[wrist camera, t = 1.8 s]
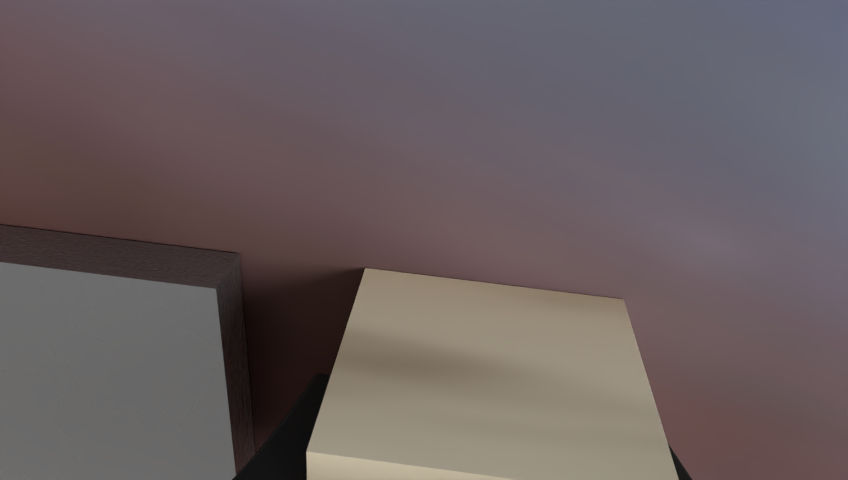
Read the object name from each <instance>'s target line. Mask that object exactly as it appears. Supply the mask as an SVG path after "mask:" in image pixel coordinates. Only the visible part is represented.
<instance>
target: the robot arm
mask: <svg viewBox="0 0 848 480" xmlns="http://www.w3.org/2000/svg"><path fill="white" fill-rule="evenodd" d="M330 376H331V375H328V374H320V373H318V374H317V375H315V376H314V377H313V378H312V379H311V381H310V382H309V384H308V385H307V387H306V388H305V390H304V391H303V393H302V394H301V396H300V397H299V399H298V400H297V401H296V403H295V404H294V406H293V407H292V408H291V410H290V411H289V412H288V414H287V415H286V416H285V418H284V419H283V420H282V421H281V423H280V424H279V425H278V427H277V428H276V429H275V430H274V432H273V433H272V434H271V435H270V436H269V438H268V439H267V440H266V441H265V442H264V444H263V445H262V446H261V447H260V449H259V450H258V451H257V452H256V453H255V455H254V456H253V457H252V458H251V459H250V460H249V462H248V463H247V464H246V465H245V466H244V467H243V468H242V469H241V470H240V471H239V472H238V474H237V475H236V476H235V477H234V478H233V479H232V480H307V458H306V451H307V448H308V445H309V442H310V439H311V435H312V432H313V429H314V426H315V423H316V420H317V417H318V414H319V411H320V407H321V404H322V401H323V398H324V395H325V392H326V389H327V386H328V383H329V379H330ZM667 443H668V442H667ZM668 446H669V444H668ZM669 450H670V453H671V456H672V459H673V463H674V466H675V469H676V472H677V476H678V479H679V480H692V478H691V477H690V476H689V474H688V473H687V471H686V470H685V468H684V467H683V465H682V464H681V462H680V461H679V459H678V458H677V456H676V455H675V453H674V452H673V450H672V449H671V447H670V446H669Z"/></svg>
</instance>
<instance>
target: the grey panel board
mask: <svg viewBox="0 0 848 480" xmlns="http://www.w3.org/2000/svg"><path fill="white" fill-rule="evenodd" d="M254 455H255V443H254V431H253V419H252V406H251V394H250V382H249V369H248V357H247V344H246V332H245V320H244V307H243V295H242V283H241V270H240V258H239V254H236V253H228V252H220V251H212V250H203V249H195V248H187V247H179V246H170V245H162V244H154V243H146V242H138V241H129V240H121V239H113V238H105V237H96V236H88V235H80V234H72V233H64V232H55V231H47V230H39V229H31V228H23V227H14V226H6V225H0V480H232V479H233V478H234V477H235V476H236V475H237V474H238V472H239V471H240V470H241V469H242V468H243V467H244V466H245V465H246V464H247V463H248V462H249V460H250V459H251V458H252V457H253V456H254Z"/></svg>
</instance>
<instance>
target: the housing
mask: <svg viewBox="0 0 848 480" xmlns="http://www.w3.org/2000/svg"><path fill="white" fill-rule="evenodd" d="M306 458H307V480H679V479H678V476H677V472H676V469H675V466H674V463H673V459H672V456H671V453H670V450H669V446H668V443H667V440H666V437H665V433H664V430H663V427H662V424H661V420H660V417H659V414H658V411H657V407H656V404H655V401H654V398H653V394H652V391H651V388H650V385H649V381H648V378H647V375H646V372H645V368H644V365H643V362H642V359H641V355H640V352H639V349H638V345H637V342H636V339H635V336H634V332H633V329H632V326H631V323H630V319H629V316H628V313H627V310H626V306H625V303H624V300H623V299H616V298H608V297H600V296H592V295H583V294H575V293H567V292H559V291H550V290H542V289H534V288H526V287H518V286H509V285H501V284H493V283H485V282H476V281H468V280H460V279H452V278H444V277H435V276H427V275H419V274H411V273H403V272H394V271H386V270H378V269H370V268H365V270H364V274H363V277H362V280H361V283H360V286H359V289H358V292H357V295H356V298H355V302H354V305H353V308H352V311H351V314H350V317H349V320H348V323H347V326H346V330H345V333H344V336H343V339H342V342H341V345H340V348H339V351H338V355H337V358H336V361H335V364H334V367H333V370H332V373H331V376H330V379H329V383H328V386H327V389H326V392H325V395H324V398H323V401H322V404H321V407H320V411H319V414H318V417H317V420H316V423H315V426H314V429H313V432H312V435H311V439H310V442H309V445H308V448H307V451H306Z"/></svg>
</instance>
